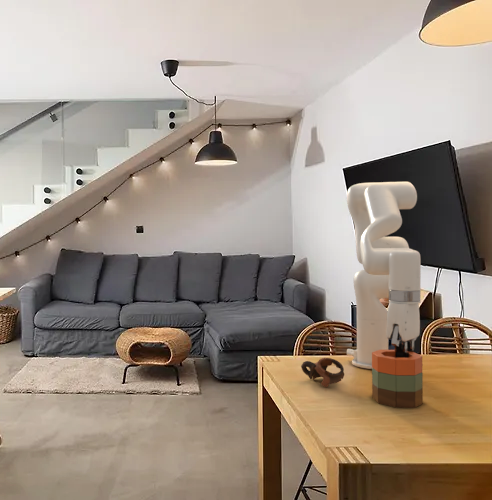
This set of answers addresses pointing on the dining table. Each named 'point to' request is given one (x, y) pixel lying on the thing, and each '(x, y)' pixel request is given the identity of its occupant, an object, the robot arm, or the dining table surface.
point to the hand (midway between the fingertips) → (404, 365)
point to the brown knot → (323, 371)
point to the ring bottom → (397, 397)
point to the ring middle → (397, 381)
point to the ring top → (396, 363)
